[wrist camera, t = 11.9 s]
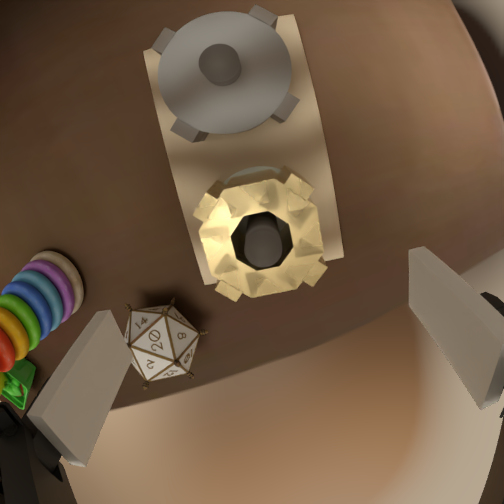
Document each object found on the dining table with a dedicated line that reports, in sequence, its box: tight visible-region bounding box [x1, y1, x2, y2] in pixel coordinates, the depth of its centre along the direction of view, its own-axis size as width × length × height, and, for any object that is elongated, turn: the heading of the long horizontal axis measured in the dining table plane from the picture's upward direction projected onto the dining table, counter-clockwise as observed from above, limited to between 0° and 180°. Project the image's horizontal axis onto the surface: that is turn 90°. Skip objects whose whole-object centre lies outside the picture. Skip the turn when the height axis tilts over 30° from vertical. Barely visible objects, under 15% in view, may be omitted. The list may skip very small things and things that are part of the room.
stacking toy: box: [0, 251, 84, 372], centre depth 23 cm, size 8×8×19 cm
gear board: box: [143, 4, 344, 285], centre depth 23 cm, size 22×13×9 cm, turn 13°
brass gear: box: [193, 165, 328, 302], centre depth 25 cm, size 8×8×6 cm
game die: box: [124, 297, 209, 390], centre depth 30 cm, size 9×8×10 cm
